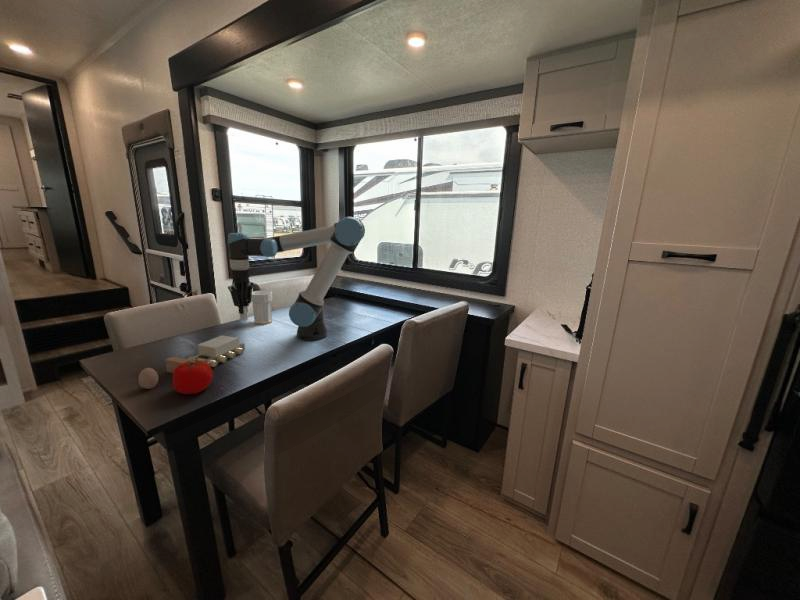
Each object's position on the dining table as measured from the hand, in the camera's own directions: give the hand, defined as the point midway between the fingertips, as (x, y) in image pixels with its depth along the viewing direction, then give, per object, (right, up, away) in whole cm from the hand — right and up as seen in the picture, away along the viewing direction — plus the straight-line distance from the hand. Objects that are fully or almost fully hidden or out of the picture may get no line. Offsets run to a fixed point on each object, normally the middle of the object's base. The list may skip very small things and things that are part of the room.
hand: (243, 319), depth 144 cm
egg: (-14, -21, -37) cm, 45 cm away
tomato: (+2, -22, -37) cm, 43 cm away
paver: (-4, -12, -12) cm, 17 cm away
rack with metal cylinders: (-6, -16, -15) cm, 22 cm away
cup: (-6, -4, +35) cm, 36 cm away
